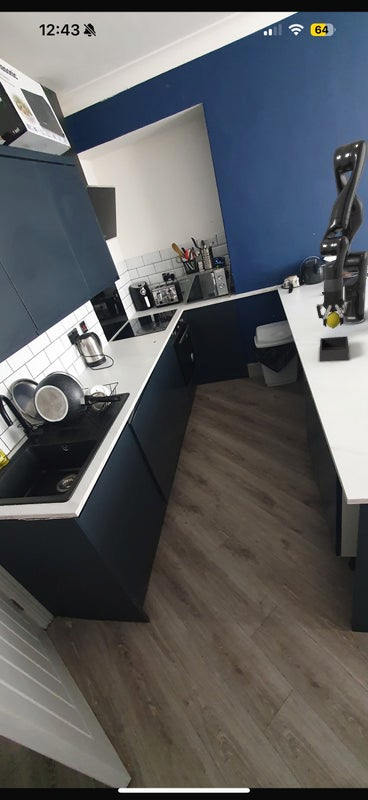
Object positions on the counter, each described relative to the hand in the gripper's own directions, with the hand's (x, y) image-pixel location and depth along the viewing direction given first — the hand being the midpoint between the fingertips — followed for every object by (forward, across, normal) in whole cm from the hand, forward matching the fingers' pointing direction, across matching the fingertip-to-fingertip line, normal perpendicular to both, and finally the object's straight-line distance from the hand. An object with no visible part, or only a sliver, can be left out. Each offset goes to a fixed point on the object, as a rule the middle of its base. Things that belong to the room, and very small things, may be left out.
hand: (333, 325), depth 140 cm
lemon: (+2, 0, 0) cm, 2 cm away
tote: (+8, 0, +12) cm, 15 cm away
